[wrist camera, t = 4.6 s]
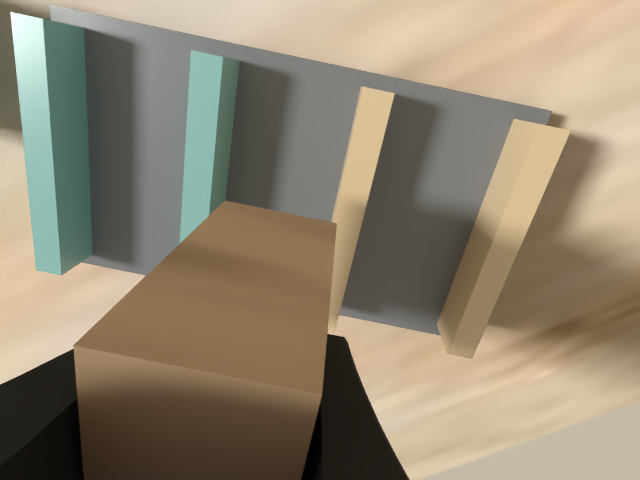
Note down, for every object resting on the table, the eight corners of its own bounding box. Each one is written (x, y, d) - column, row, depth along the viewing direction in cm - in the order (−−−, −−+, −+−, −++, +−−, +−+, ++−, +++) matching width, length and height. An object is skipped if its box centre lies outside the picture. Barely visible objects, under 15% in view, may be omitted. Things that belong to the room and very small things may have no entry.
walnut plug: (304, 370, 12) (266, 616, 6) (210, 351, 12) (92, 581, 6) (336, 223, 10) (321, 395, 5) (224, 200, 10) (72, 345, 5)
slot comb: (453, 326, 18) (472, 369, 16) (80, 250, 18) (32, 280, 15) (539, 109, 15) (584, 115, 12) (68, 9, 14) (1, -9, 12)
